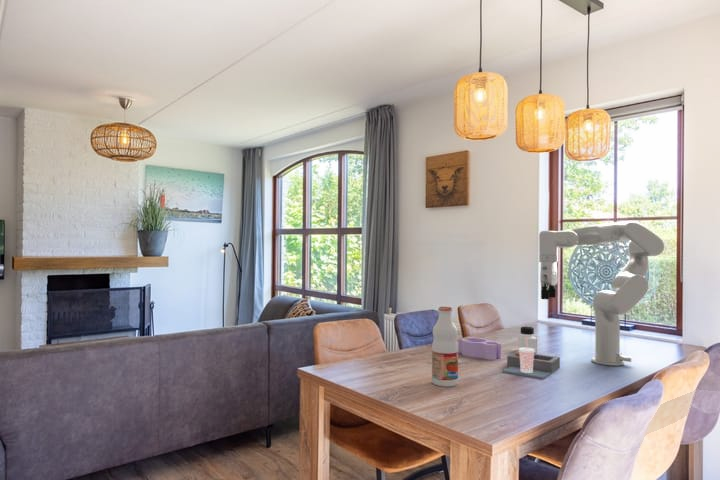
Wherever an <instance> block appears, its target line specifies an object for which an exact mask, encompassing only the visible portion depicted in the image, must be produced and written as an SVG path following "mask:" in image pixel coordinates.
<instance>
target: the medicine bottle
mask: <svg viewBox="0 0 720 480" xmlns="http://www.w3.org/2000/svg"><path fill="white" fill-rule="evenodd" d="M534 335H535V328H534V327H532V326H527V325H525V326H521V327H520V335H517V351H519V348H521V347H526V336H527V348H533V349H535V352H534V354H538V338H537V337H535V336H534Z"/></svg>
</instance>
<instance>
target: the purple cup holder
mask: <svg viewBox="0 0 720 480" xmlns="http://www.w3.org/2000/svg"><path fill="white" fill-rule="evenodd" d="M457 339H458V341H457V343H458V354H461V355H462V356H464V357H469V358H479V359H484V360H486V361H487V360H488V361H497V359H498V360H502V343H501V342H500V341H499V342H498V341H492V340H489V339H487V338H482V337H472V336H471V337H470V336H466V338H461V337H460V338H457Z"/></svg>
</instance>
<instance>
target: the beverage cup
mask: <svg viewBox="0 0 720 480" xmlns="http://www.w3.org/2000/svg"><path fill="white" fill-rule="evenodd" d="M518 351H519V354H520V370H521V372H524V373H532V372H533V360H534V354H535V353H534V352H535V349H533V348H527V336H526V347H521V348H519V350H518Z"/></svg>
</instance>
